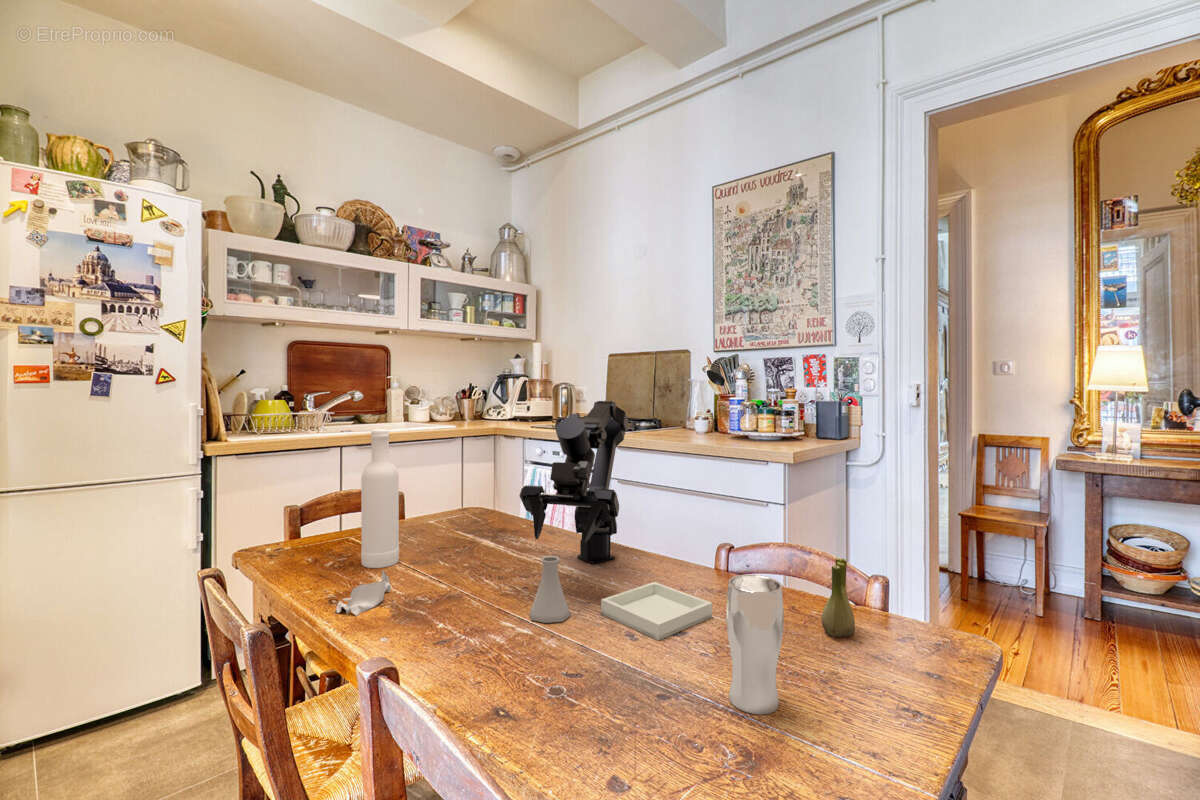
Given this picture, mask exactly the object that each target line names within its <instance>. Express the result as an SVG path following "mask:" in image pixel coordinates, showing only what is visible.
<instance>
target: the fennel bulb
mask: <svg viewBox="0 0 1200 800" xmlns="http://www.w3.org/2000/svg"><path fill="white" fill-rule="evenodd" d="M847 565H848V563H847V559H846V558H841V557H840V558H835V565H832V566H831V595H830V596H829V598H828V600H827V601H826V604H825V605H824V608H823V610H822V614H821V625H822V628H823V629H824V631H825V632H826V634H828V635H830V636H832V637H836V638H838V637H839V638H843V637H844V638H845V637H847V638H849V637H851V636H852V635H854V633H855V630H856V627H855V626H856V622H855V616H854V611H853V609H852V606H851V603H850V600H849V597H848V591H847Z"/></svg>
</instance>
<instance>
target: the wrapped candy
mask: <svg viewBox="0 0 1200 800" xmlns="http://www.w3.org/2000/svg"><path fill="white" fill-rule="evenodd" d="M385 572H386V570H385V569H383V570H382V571H381V581H378V582H370V583H366V584H365V583H364V584H359V585H357V586H355V587H353V588H352V589H351V591H350V595H349V597H344V598H342V601H344V602H347V604H345V603H343V602H342V601H341V600H339V601H338V603H337V604H336V610H334V614H339V613H341V612H342V610H345V611H346V612H345V614H346V616H347V615H348V614H349V613H350V612H351V613H352V614H353V615H355V617H358V616H359V615H360V614H361V613H364V612H366V611H368V610H371V609H374V608H375V607H377V606H378V605H379V604H381V602H382V601H383V600H384V597H385V592H388V593H390V592H391V587H392V586H391V583H390V579H389V576H388V575H387V574H386V573H385Z"/></svg>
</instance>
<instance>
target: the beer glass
mask: <svg viewBox="0 0 1200 800" xmlns="http://www.w3.org/2000/svg"><path fill="white" fill-rule="evenodd" d="M727 581H728V586H727V596H726V610H725V611H726V613H725V616H726V621H725V622H726V632H727V637H728V638H727V639H728V645H729V646H728V647H729V650H730V651H729V652H730V655H731V656H730V657H731V663H732V671H731V672H732V675H731V682H730V685H729V693H728V699H729V701H730V703H731V704H732V706H734V707H735V708H737V710H740V711H742V712H744V713H748V714H752V715H760V716H761V715H769V714H772V713H773V712H776V711H777V710H778V708H779V707H780V706H779V705H780V699H779V694H778V693H779V692H778V688H777V667H778V662H779V661H778V660H779V657H780V651H781V647H782V642H783V636H784V635H783V633H784V622H785V621H784V620H785V616H784V614H785V613H784V597H783V584H782V583H781V582H780V581H779V580H776V579H775V578H771V577H768V576H763V575H760V574H738V575H735V576H731V577H730V578H729V579H728V580H727Z"/></svg>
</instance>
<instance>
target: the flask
mask: <svg viewBox="0 0 1200 800" xmlns="http://www.w3.org/2000/svg"><path fill="white" fill-rule="evenodd" d="M540 561H541V564H542V572H541V577H540V582H539V586H538V588H537V592H536V595H535V597H534V600H533V603H532V606H531V608H530V611H529V617H530V620H531V621H535V622H540V623H544V624H549V623H561V622H565V620H567V619H568V618H569V617H571V616H572V615H571V610H570V608H569V606H568V603H567V599H566V598H565V593H564V590H563V588H562V587H563V586H562V585H561V581H560V575H559V562H560V557H559V556H556V555H545V556H543V557H541V560H540Z"/></svg>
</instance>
